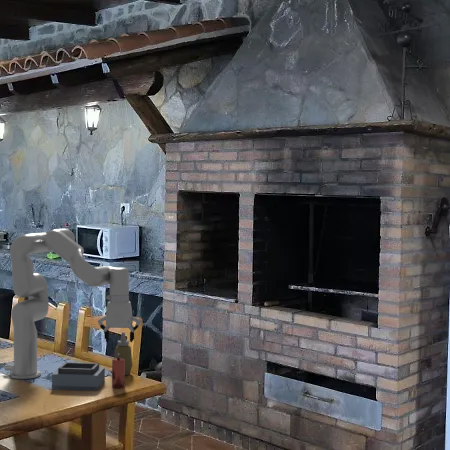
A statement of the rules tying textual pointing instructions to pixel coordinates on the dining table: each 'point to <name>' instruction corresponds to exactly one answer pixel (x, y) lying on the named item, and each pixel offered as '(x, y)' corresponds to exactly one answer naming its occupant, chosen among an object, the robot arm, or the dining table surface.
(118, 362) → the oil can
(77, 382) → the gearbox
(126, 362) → the squeeze bottle
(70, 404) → the dining table surface
